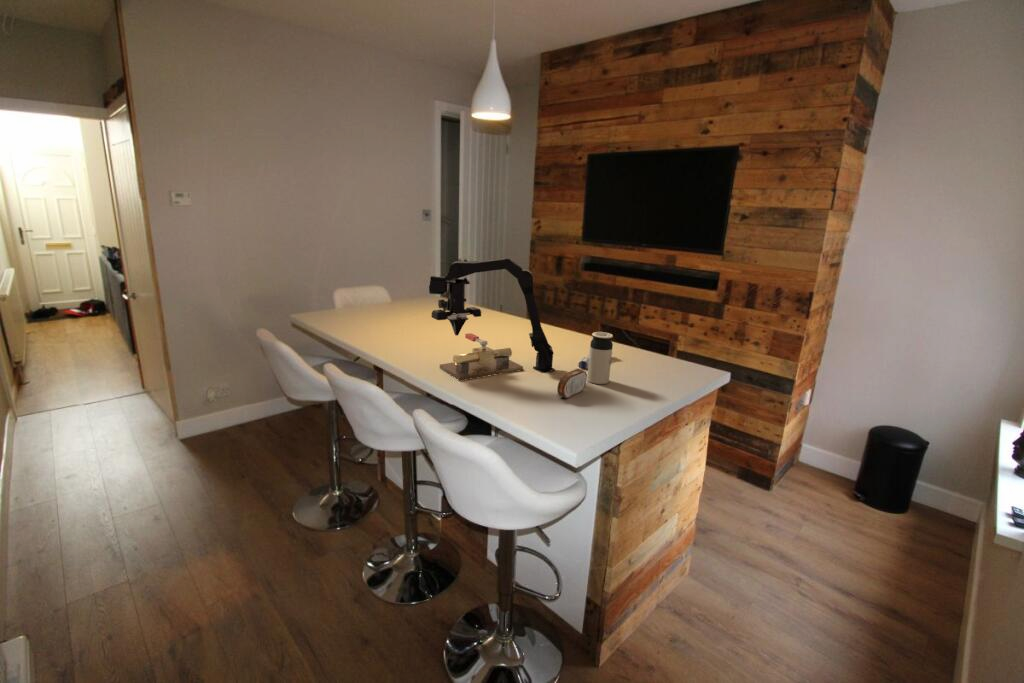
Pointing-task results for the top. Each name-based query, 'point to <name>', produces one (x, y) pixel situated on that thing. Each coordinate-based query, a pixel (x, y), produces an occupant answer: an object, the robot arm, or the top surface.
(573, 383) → the tin
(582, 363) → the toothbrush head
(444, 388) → the top surface
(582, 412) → the top surface
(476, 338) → the lever
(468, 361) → the valve
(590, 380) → the travel mug
